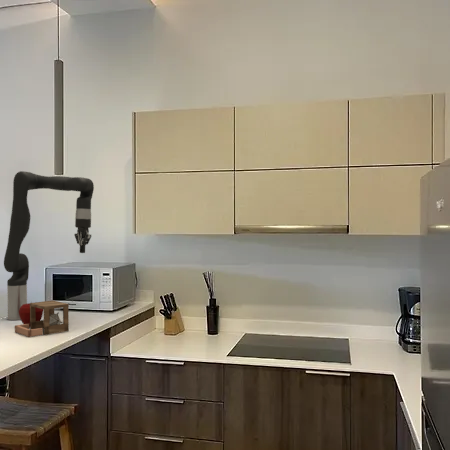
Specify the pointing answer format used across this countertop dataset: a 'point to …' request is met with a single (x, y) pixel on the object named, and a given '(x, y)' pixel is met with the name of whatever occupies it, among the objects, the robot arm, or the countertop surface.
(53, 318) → the game die
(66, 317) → the tunnel
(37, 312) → the apple
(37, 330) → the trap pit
